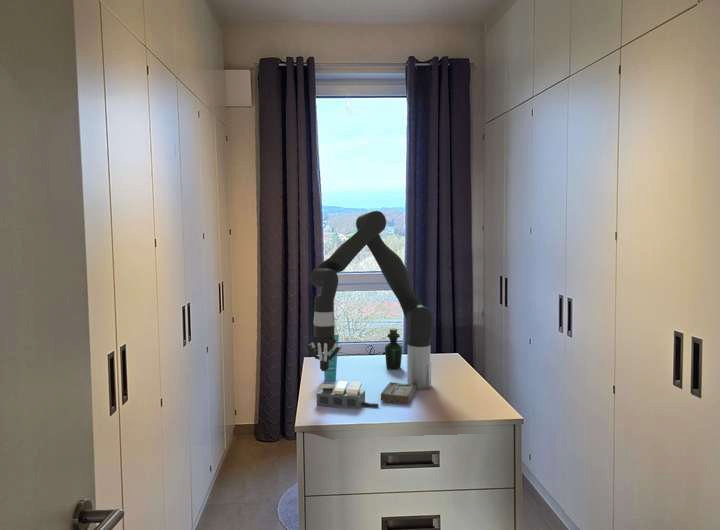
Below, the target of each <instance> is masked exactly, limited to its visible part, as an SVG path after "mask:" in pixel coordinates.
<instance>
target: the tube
mask: <svg viewBox="0 0 720 530" xmlns="http://www.w3.org/2000/svg"><path fill="white" fill-rule="evenodd" d="M339 338H340V335H339V334H335V340H336V344H337V345H339ZM333 351H334V346H333V348H332V349H331V350H330V354H329V356H330V355H331V354H332V353H333ZM337 361H338V353H337V354H336V355H335V357H334V358H333V359H331V360H329V368H328V369H327V371H323V373H324V374H323V375H324V376H323V377H324V381H328V382H333V381H336V380H337V364H338V363H337Z"/></svg>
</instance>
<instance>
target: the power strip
mask: <svg viewBox="0 0 720 530" xmlns="http://www.w3.org/2000/svg"><path fill="white" fill-rule="evenodd" d="M334 389H335V388H321V389H320V390H319V391H317V392H316V406H317V407H318V406H321V407H330V408H339V409H340V408H341V409H353V410H360V409H361V408H362V407H370V408H371V407H372V408H379V405H380V404H379V403H373V402H366V390H365V389H360V390H359V392H358V395H357V396H349V395H347V392H348V390H349V388H346V390H345V391H344V393H343V394H333V391H334Z"/></svg>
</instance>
